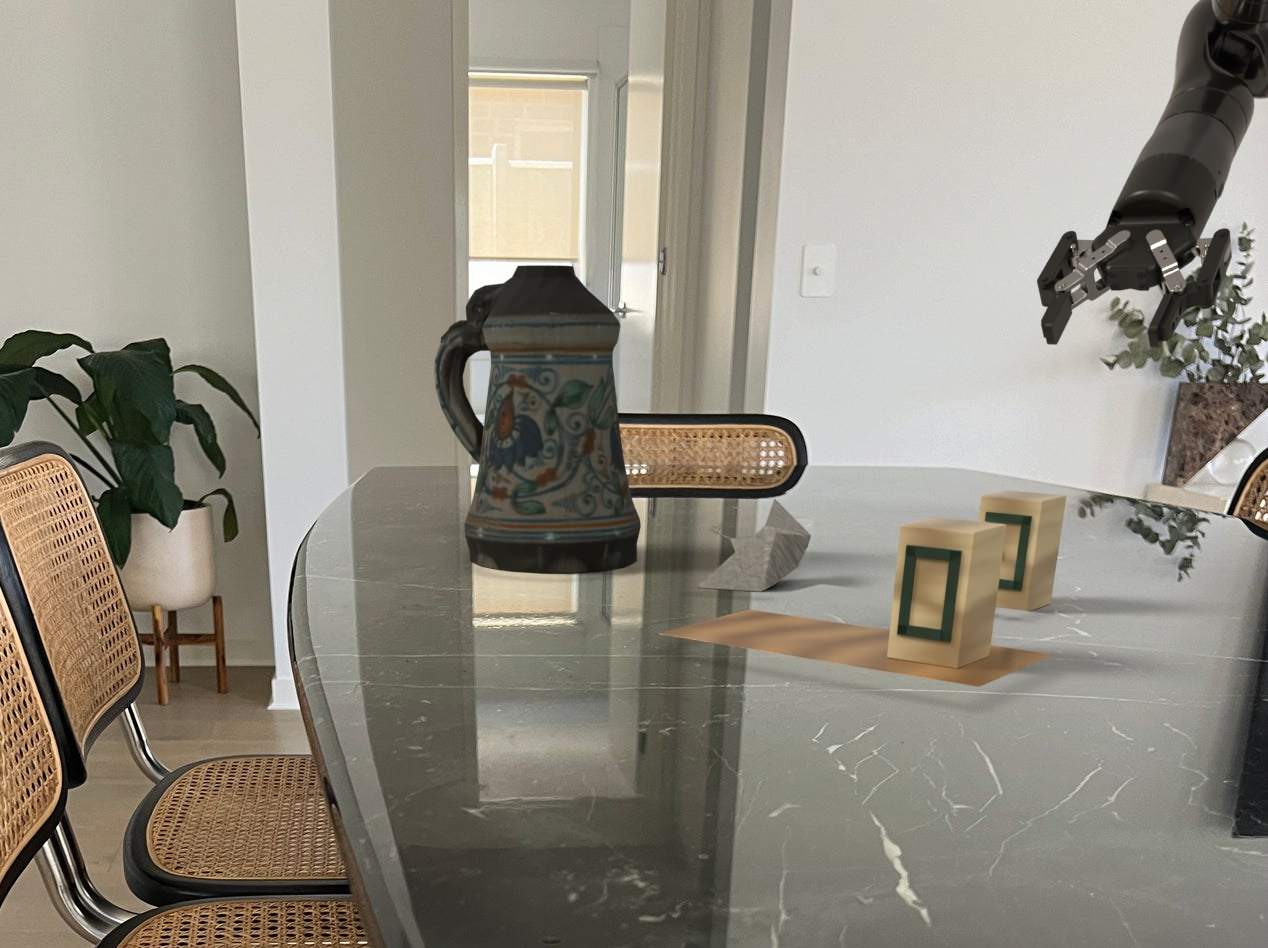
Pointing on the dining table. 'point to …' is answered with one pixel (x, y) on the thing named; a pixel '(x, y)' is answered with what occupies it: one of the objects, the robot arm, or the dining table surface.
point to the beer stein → (541, 426)
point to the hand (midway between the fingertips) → (1100, 338)
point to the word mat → (844, 646)
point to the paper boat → (761, 554)
